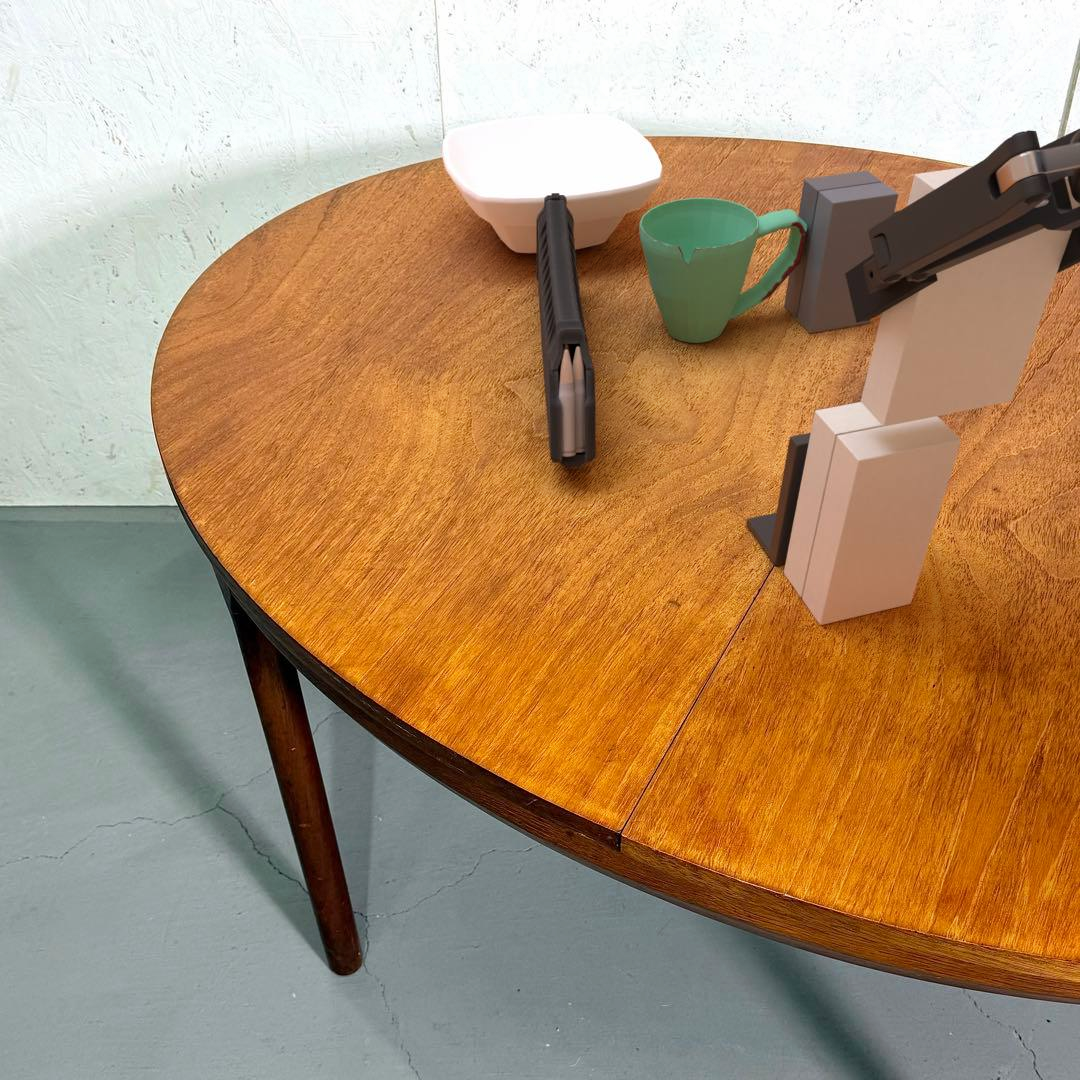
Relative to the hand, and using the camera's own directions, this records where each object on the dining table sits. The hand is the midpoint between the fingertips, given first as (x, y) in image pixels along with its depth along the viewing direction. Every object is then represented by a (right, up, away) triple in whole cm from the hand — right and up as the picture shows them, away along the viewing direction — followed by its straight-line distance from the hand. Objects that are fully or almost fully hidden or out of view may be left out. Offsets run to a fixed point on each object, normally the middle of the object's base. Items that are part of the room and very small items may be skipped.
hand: (929, 285), depth 57 cm
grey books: (+5, +7, +39) cm, 40 cm away
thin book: (+1, -6, +2) cm, 6 cm away
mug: (-5, +5, +37) cm, 38 cm away
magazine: (-19, 0, +31) cm, 37 cm away
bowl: (-20, +17, +52) cm, 58 cm away
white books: (-2, -15, +14) cm, 21 cm away
